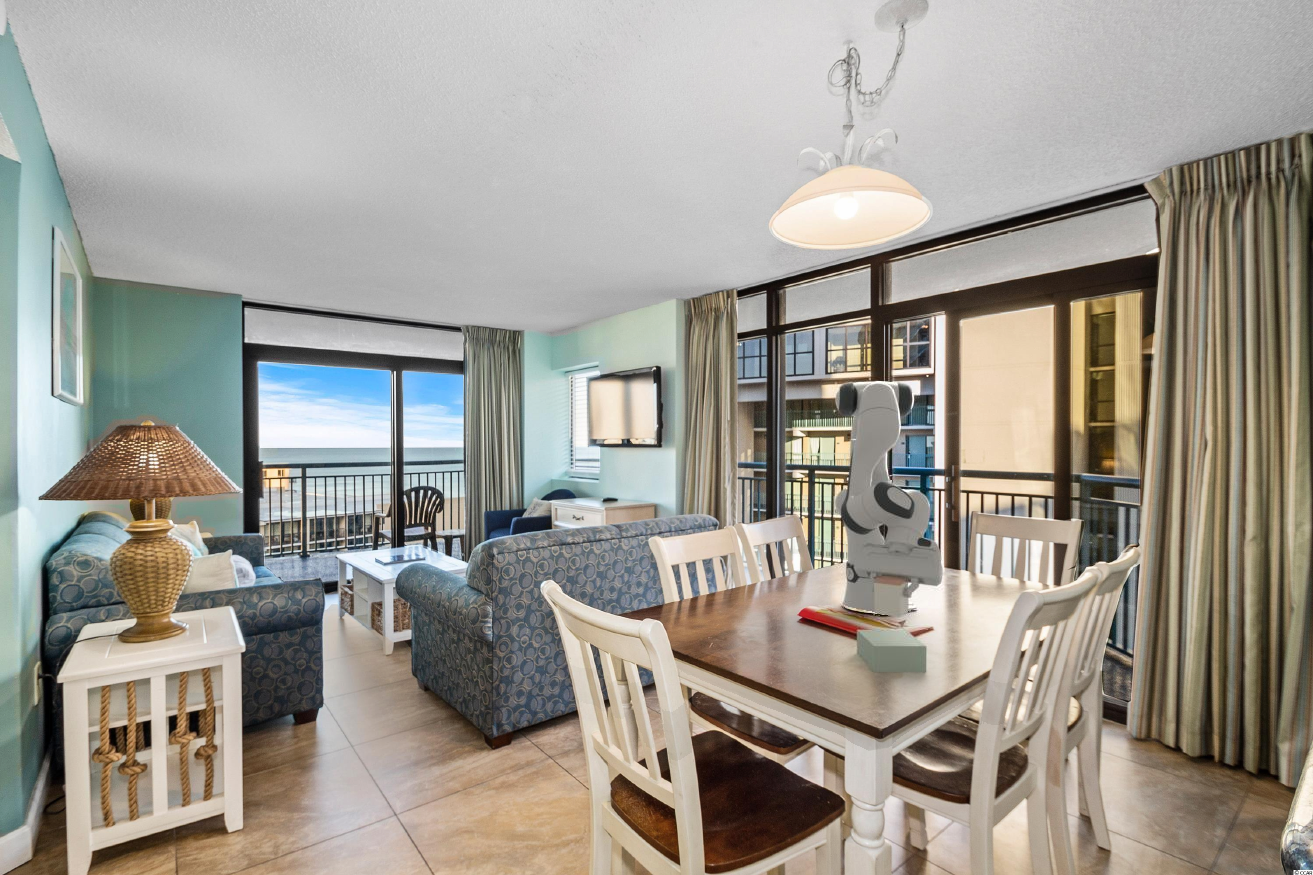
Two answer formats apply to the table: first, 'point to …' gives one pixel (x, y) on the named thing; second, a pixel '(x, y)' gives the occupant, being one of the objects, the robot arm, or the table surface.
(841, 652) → the table surface
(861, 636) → the green box
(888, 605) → the white brown-topped block
